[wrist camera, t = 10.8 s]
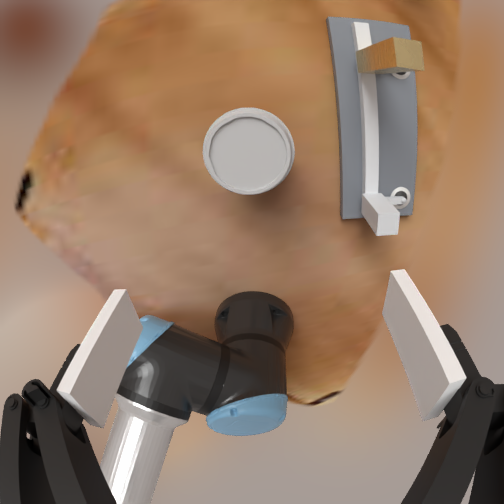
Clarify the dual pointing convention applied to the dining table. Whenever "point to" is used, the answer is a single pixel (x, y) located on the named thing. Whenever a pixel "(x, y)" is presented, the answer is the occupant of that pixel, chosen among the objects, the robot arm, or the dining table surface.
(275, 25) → the dining table surface
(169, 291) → the dining table surface
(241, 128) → the disposable coffee cup
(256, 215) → the dining table surface
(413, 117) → the gauge plate
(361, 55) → the gold pointer slider
